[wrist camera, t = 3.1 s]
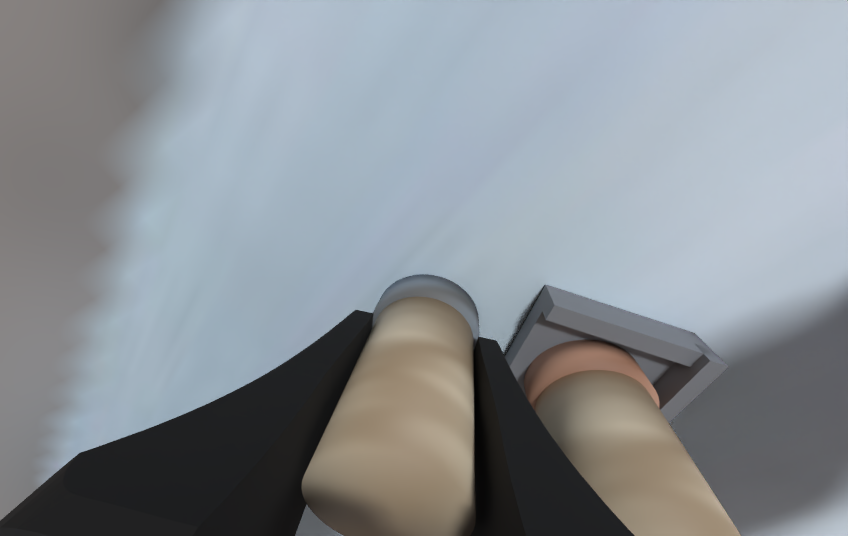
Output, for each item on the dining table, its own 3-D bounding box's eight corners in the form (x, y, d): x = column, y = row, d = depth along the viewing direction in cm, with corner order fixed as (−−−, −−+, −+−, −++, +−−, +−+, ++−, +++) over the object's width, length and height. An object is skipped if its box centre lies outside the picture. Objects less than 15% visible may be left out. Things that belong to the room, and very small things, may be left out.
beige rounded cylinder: (494, 294, 11) (521, 488, 5) (458, 370, 13) (448, 574, 7) (390, 260, 11) (301, 418, 5) (368, 341, 13) (286, 523, 7)
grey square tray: (694, 333, 11) (729, 366, 9) (600, 434, 13) (616, 472, 12) (545, 284, 11) (557, 310, 9) (482, 396, 13) (483, 429, 12)
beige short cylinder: (666, 361, 10) (910, 669, 5) (600, 430, 12) (716, 711, 6) (555, 324, 10) (663, 588, 5) (507, 400, 12) (539, 654, 6)
